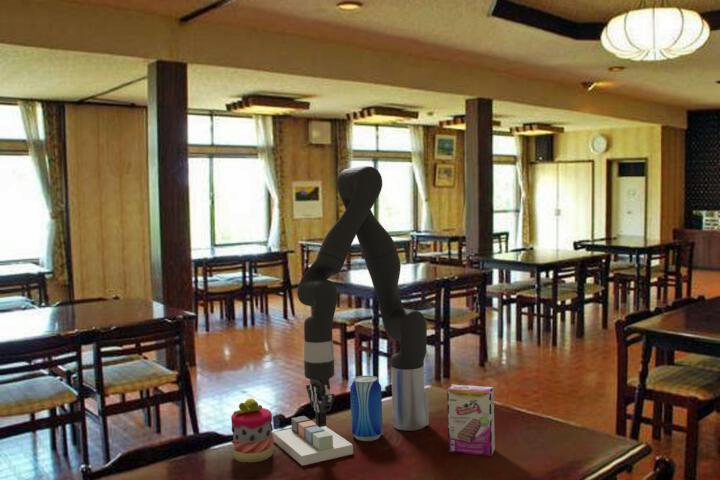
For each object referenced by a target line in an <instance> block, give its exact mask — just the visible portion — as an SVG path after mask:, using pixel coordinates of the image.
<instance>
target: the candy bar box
mask: <svg viewBox="0 0 720 480" xmlns="http://www.w3.org/2000/svg"><path fill="white" fill-rule="evenodd" d="M446 396H447V397H446V398H447V438H448V439H447V440H448V445H447V446H448V448H447V449H448V452H449V453H455V454H465V455H466V454H467V455H477V456H487V457H493V454H494V452H495V450H496V449H495V448H496V440H495V438H496V437H495V389H494V386H493V387H492V386H483V385H482V386H480V385H465V384H450V385H449V386H448V387H447V391H446Z"/></svg>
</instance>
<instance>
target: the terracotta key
mask: <svg viewBox="0 0 720 480" xmlns="http://www.w3.org/2000/svg"><path fill="white" fill-rule="evenodd" d="M314 426H317V425H316V422H314V421H313V420H310V421H306V422H301V423H298V431H299V437H301V438H302V439H303V440H305V439H306V435H305V428H309V427H314Z"/></svg>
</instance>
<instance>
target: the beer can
mask: <svg viewBox="0 0 720 480" xmlns="http://www.w3.org/2000/svg"><path fill="white" fill-rule="evenodd" d="M352 381H353V382H352V383H351V385H350V387H349V388H350V389H349V390H350V391H349V392H350V417H351V418H350V419H351V420H350V421H351V433H352V435H353V436H354V438H355V439H356V440H358V441H361V442H372V441H376V440H378V439H379V438H381V435H382V434H383V431H384V430H383V429H384V428H383V426H384V425H383V403H382V402H383V401H382V385H381V383H380V382H379V380H378V377H377V376H374V375H359V376H355V377H354V378H353V379H352Z"/></svg>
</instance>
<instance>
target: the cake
mask: <svg viewBox="0 0 720 480" xmlns="http://www.w3.org/2000/svg"><path fill="white" fill-rule="evenodd" d="M238 408H239V410H235V411H233V413H232V414H231V416H230V417H231V419H230V420H231V421H230V422H231V432H232V437H233V440H231V444H233V445H234V446H233V459H234V460H236V461H237V462H240V463H246V462H248V463H258V462H263V461H265V460H268V459H269V457H270V458H271V457H272V456H273V454H274V453H273V444H274V443H275V442H274V437H273V432H274V431H273V430H274V428H273V425H272V422H273V415H272V411H271V410H270V409H269V408H268V409H267V408H264V407H263V406H262V405H261V404H259V403H258V401H256V400H255V399H253V398H248V399H246V400H245V401H244V402H240V403H239V405H238Z"/></svg>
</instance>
